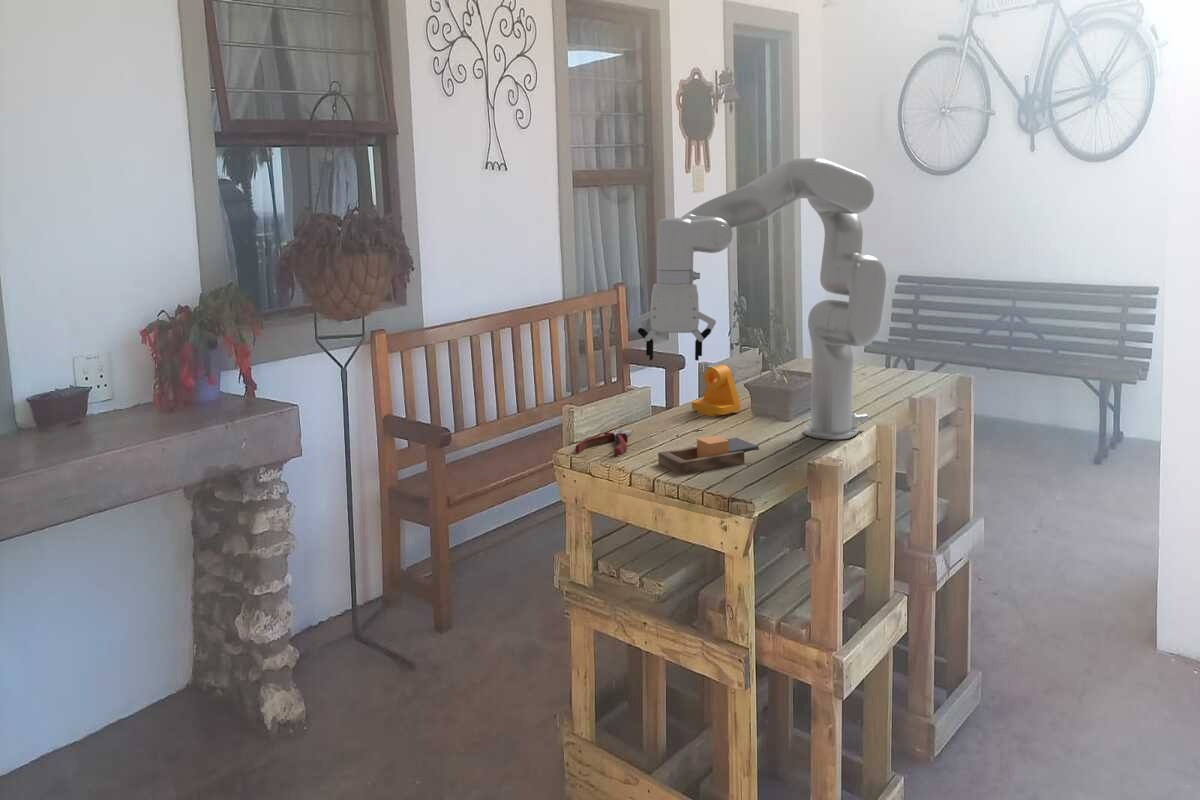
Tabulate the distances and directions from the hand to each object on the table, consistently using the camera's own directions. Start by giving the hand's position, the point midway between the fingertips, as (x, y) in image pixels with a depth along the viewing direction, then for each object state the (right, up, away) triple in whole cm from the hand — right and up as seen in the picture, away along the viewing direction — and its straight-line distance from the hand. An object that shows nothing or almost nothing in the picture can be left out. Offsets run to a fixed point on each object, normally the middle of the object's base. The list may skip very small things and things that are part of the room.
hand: (674, 359), depth 220 cm
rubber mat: (+15, -19, +17) cm, 30 cm away
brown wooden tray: (+6, -22, +5) cm, 24 cm away
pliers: (-12, -20, +22) cm, 32 cm away
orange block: (+9, -22, +7) cm, 25 cm away
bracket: (+14, -12, +50) cm, 54 cm away
